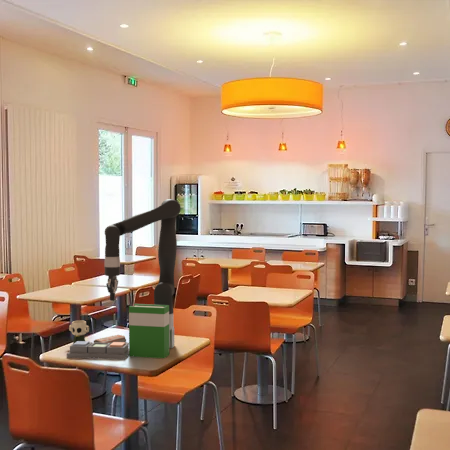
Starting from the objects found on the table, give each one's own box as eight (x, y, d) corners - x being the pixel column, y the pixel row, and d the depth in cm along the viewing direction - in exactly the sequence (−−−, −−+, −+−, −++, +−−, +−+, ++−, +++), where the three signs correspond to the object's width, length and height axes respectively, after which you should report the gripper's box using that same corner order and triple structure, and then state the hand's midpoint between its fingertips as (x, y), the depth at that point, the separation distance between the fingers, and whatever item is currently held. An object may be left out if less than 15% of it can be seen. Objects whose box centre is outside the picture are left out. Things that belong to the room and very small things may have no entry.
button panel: (131, 352, 288) (131, 342, 287) (124, 359, 276) (124, 348, 275) (75, 351, 290) (75, 341, 290) (66, 357, 278) (66, 347, 278)
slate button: (89, 345, 286) (89, 341, 286) (85, 348, 280) (85, 344, 280) (77, 345, 287) (77, 341, 287) (73, 348, 281) (73, 344, 281)
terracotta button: (125, 346, 285) (125, 342, 285) (122, 349, 279) (122, 345, 279) (113, 346, 285) (113, 341, 285) (109, 349, 279) (109, 344, 279)
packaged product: (116, 333, 311) (129, 335, 305) (116, 342, 311) (129, 345, 305) (88, 339, 297) (101, 342, 291) (88, 348, 297) (101, 351, 291)
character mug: (65, 348, 296) (65, 322, 296) (73, 344, 303) (72, 319, 303) (85, 349, 293) (85, 323, 293) (92, 346, 300) (92, 321, 300)
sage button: (107, 348, 286) (107, 344, 285) (103, 351, 280) (103, 347, 279) (95, 348, 286) (95, 344, 286) (91, 351, 280) (91, 347, 280)
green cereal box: (129, 356, 281) (128, 306, 280) (135, 352, 288) (134, 303, 287) (164, 358, 277) (164, 307, 276) (169, 354, 284) (169, 305, 283)
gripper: (116, 267, 283) (116, 303, 284) (123, 264, 296) (123, 298, 297) (100, 267, 284) (101, 302, 284) (108, 264, 297) (109, 298, 297)
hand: (112, 300), depth 291 cm, fingers closed
